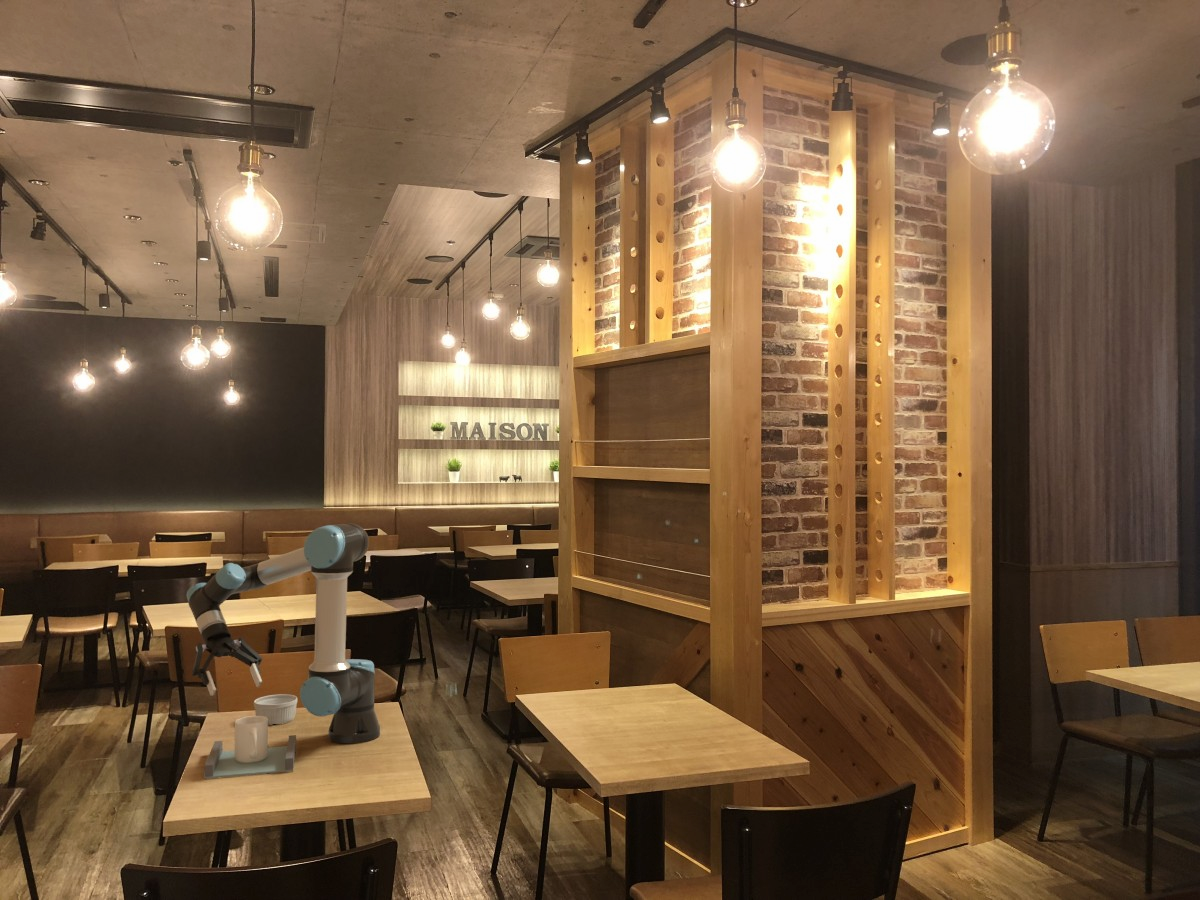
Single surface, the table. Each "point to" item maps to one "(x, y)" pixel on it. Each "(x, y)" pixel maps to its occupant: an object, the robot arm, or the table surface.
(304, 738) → the table surface
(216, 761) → the tray with side rails
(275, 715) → the ramekin
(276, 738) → the table surface
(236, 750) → the mug
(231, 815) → the table surface
